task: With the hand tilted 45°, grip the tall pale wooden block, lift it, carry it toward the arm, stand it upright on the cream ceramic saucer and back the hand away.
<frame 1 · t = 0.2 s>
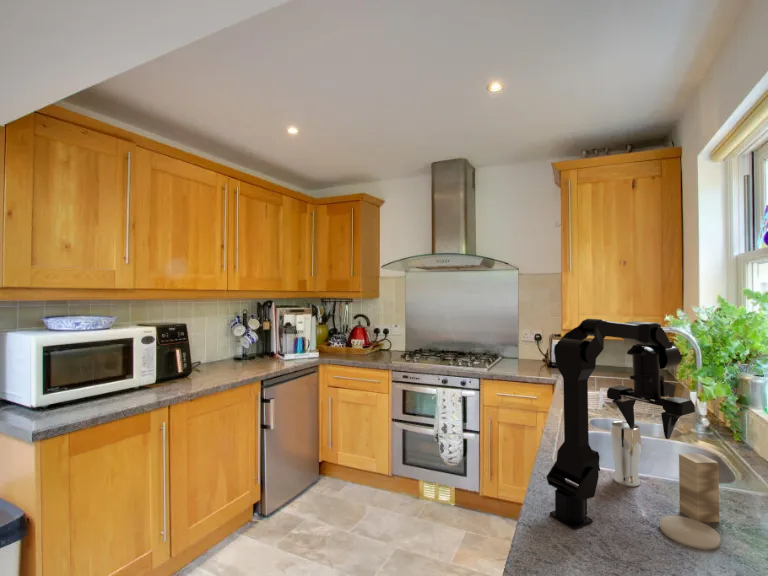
hand: (649, 433, 102), 15 cm above the countertop, tool pointing down, fingers open, 8 cm apart
beer glass: (626, 482, 108), on the countertop, touching gripper
wooden block: (699, 516, 91), on the countertop
saucer: (689, 534, 84), on the countertop
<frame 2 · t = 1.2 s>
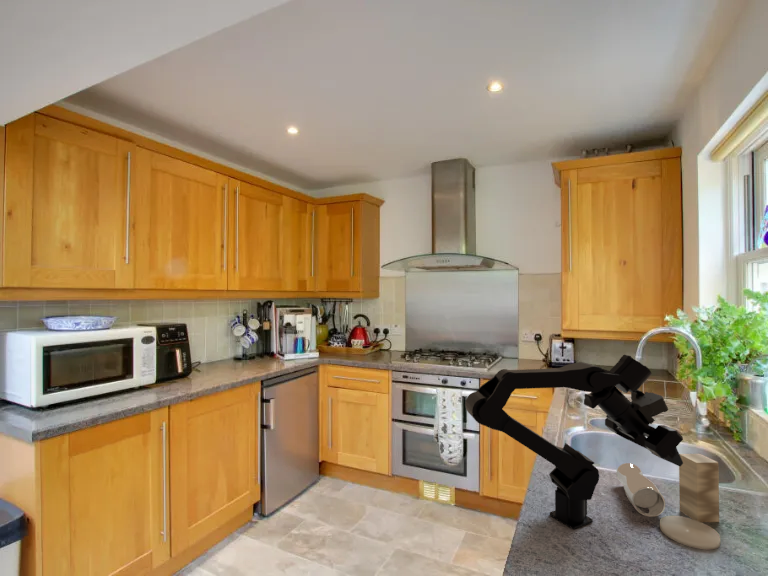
hand: (665, 456, 91), 13 cm above the countertop, tool tilted 45°, fingers open, 9 cm apart
beer glass: (629, 474, 106), point 3 cm above the countertop
everything else where it was.
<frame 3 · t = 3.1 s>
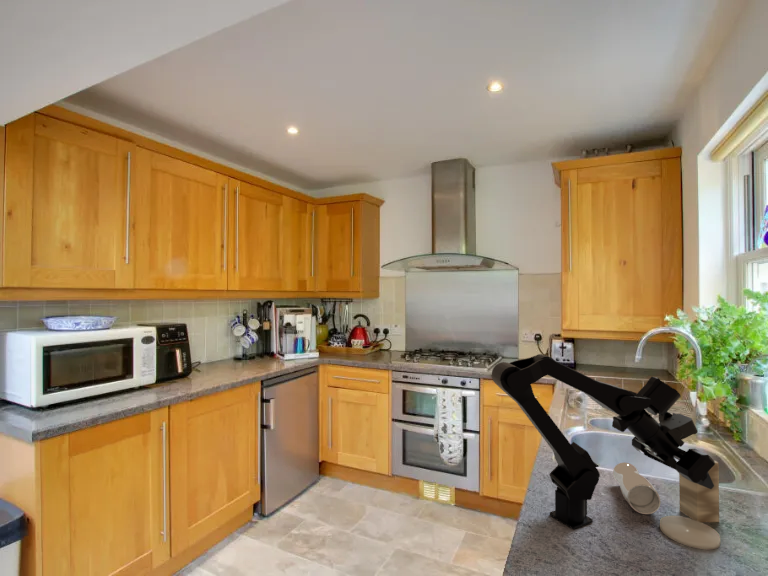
hand: (694, 477, 91), 9 cm above the countertop, tool tilted 45°, fingers open, 9 cm apart
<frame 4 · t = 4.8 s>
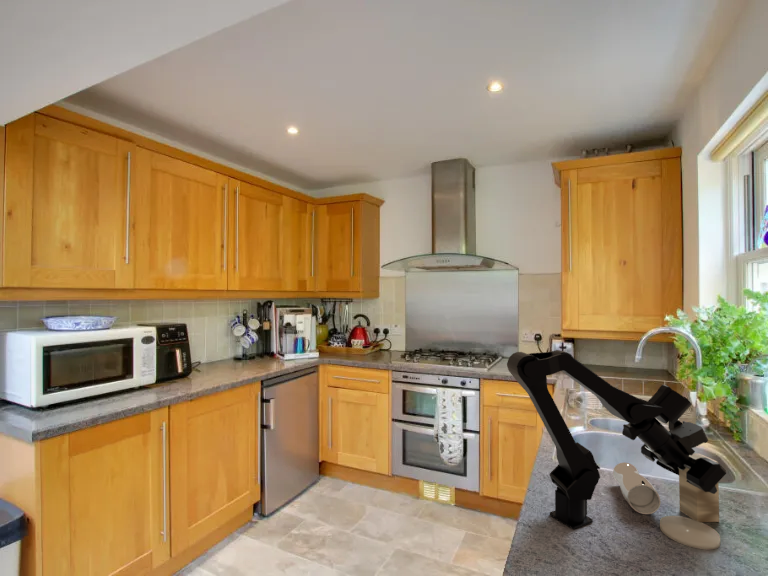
hand: (704, 486, 91), 7 cm above the countertop, tool tilted 45°, fingers closed on wooden block, 5 cm apart
wooden block: (699, 515, 91), on the countertop, touching gripper
everything else where it was.
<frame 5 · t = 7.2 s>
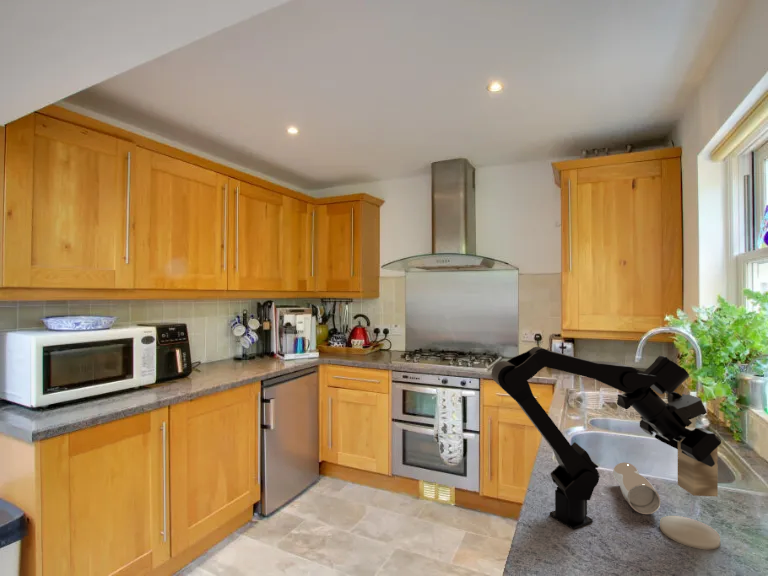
hand: (703, 460, 89), 13 cm above the countertop, tool tilted 45°, fingers closed on wooden block, 5 cm apart
wooden block: (697, 490, 89), point 7 cm above the countertop, touching gripper
everything else where it was.
when the fingers open (9 cm above the countertop, at t = 9.6 s): wooden block drops 1 cm, resting on saucer.
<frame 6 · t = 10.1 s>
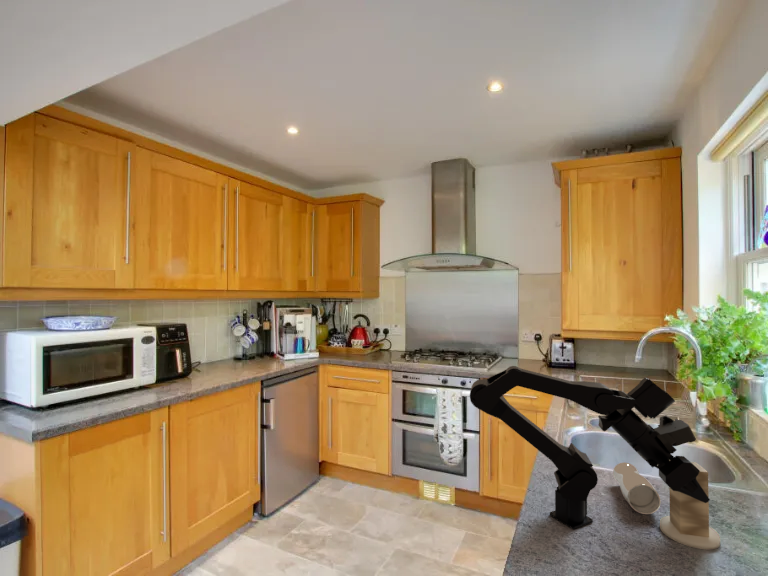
hand: (696, 490, 84), 9 cm above the countertop, tool tilted 45°, fingers open, 9 cm apart
wooden block: (688, 528, 84), point 1 cm above the countertop, touching saucer
everything else where it was.
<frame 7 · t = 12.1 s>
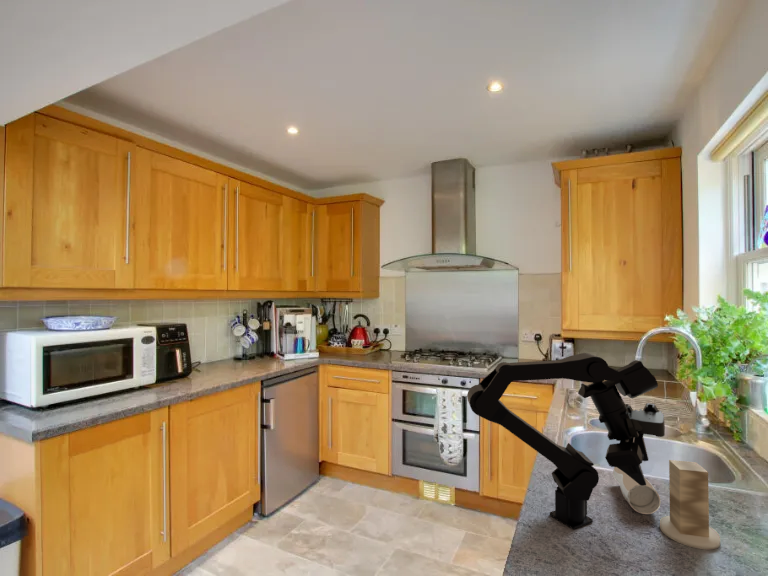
hand: (645, 472, 89), 11 cm above the countertop, tool tilted 25°, fingers open, 9 cm apart
nothing on the countertop moved.
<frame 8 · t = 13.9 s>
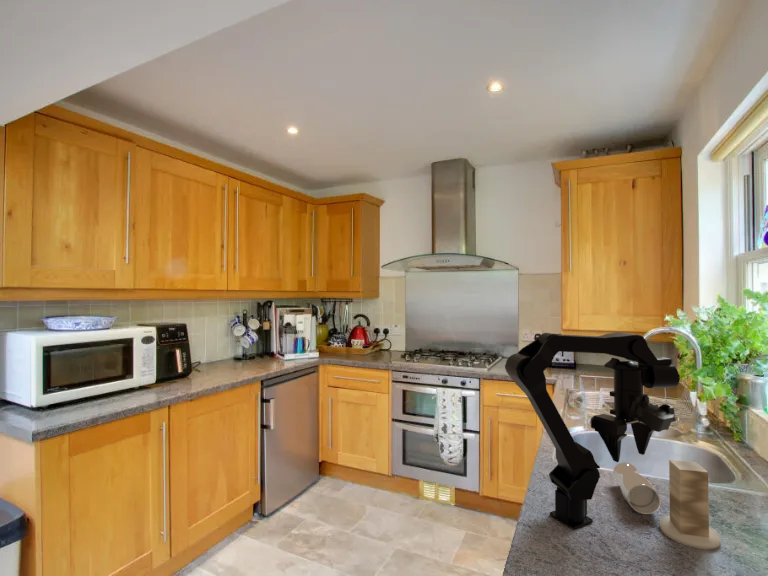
hand: (629, 457, 92), 13 cm above the countertop, tool pointing down, fingers open, 9 cm apart
nothing on the countertop moved.
at the end: wooden block 0.0 cm off-centre on the saucer, point 1.2 cm above the saucer's base; wooden block tilted 0°; the gripper is holding nothing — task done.
